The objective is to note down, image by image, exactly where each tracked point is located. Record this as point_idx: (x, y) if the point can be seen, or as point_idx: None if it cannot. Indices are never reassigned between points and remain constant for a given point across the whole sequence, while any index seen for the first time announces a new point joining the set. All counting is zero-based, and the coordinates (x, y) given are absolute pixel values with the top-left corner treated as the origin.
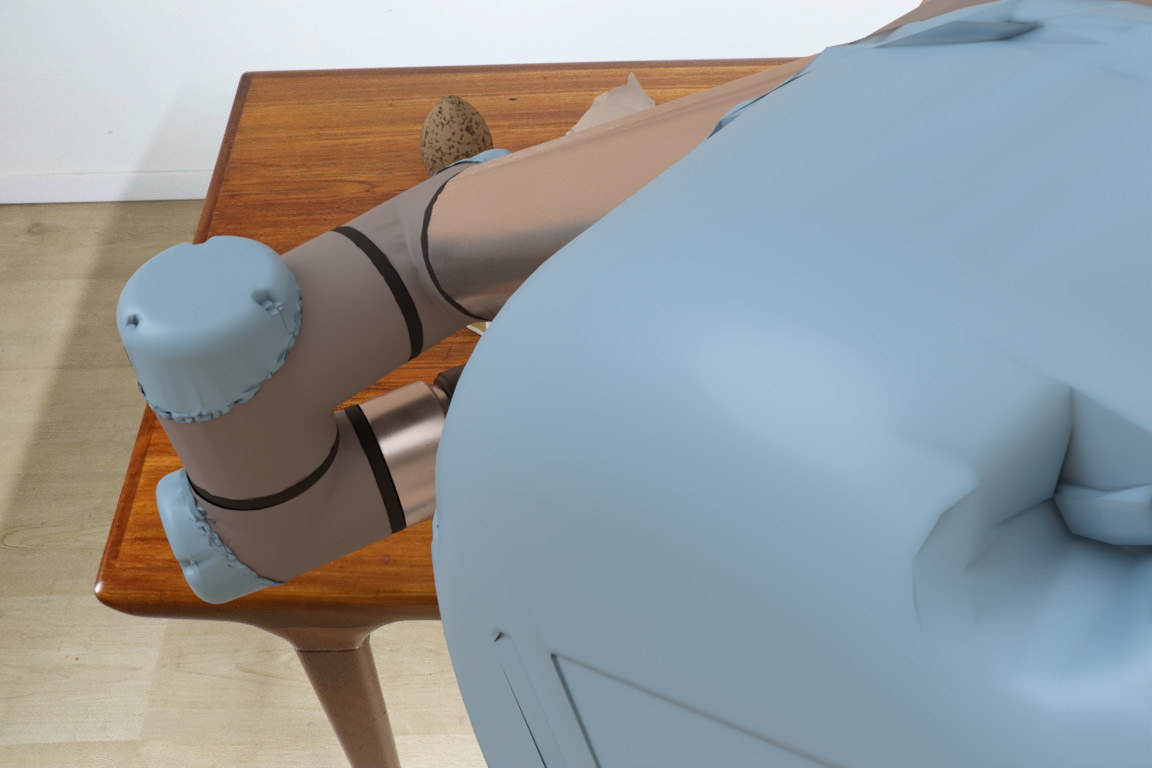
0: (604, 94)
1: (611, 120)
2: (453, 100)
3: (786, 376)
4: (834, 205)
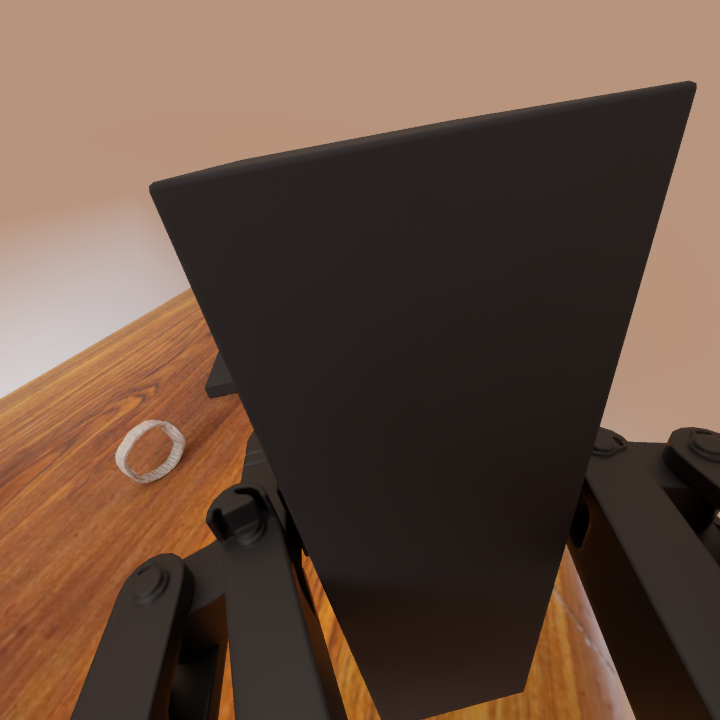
0: None
1: None
2: None
3: None
4: None
